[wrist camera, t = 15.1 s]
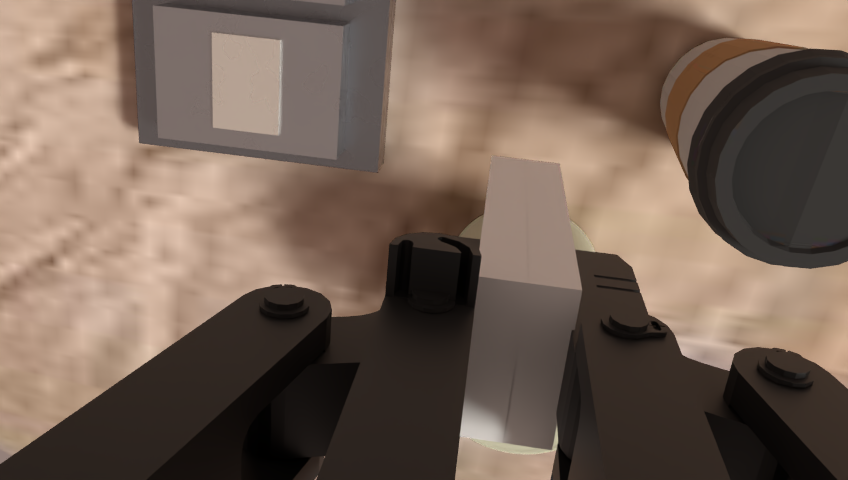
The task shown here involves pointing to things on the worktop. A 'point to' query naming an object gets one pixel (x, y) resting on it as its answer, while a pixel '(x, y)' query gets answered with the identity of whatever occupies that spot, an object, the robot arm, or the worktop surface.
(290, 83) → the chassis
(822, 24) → the worktop surface
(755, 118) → the coffee cup
